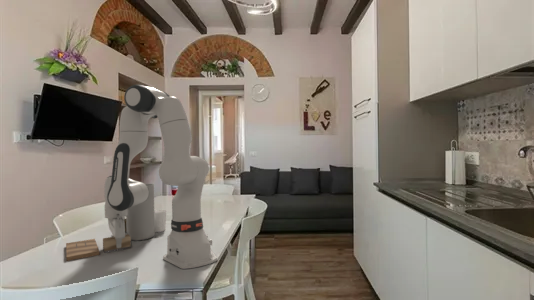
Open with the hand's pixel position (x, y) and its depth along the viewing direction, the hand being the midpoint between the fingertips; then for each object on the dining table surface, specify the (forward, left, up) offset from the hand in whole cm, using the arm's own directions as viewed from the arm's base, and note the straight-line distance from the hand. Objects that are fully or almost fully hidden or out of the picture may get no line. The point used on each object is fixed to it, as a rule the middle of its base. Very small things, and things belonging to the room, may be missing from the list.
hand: (117, 244), depth 129 cm
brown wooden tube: (+29, -10, -2) cm, 31 cm away
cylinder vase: (+12, -12, -2) cm, 17 cm away
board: (+6, +12, -2) cm, 14 cm away
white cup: (+19, -22, -2) cm, 29 cm away
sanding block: (0, 0, -2) cm, 2 cm away
